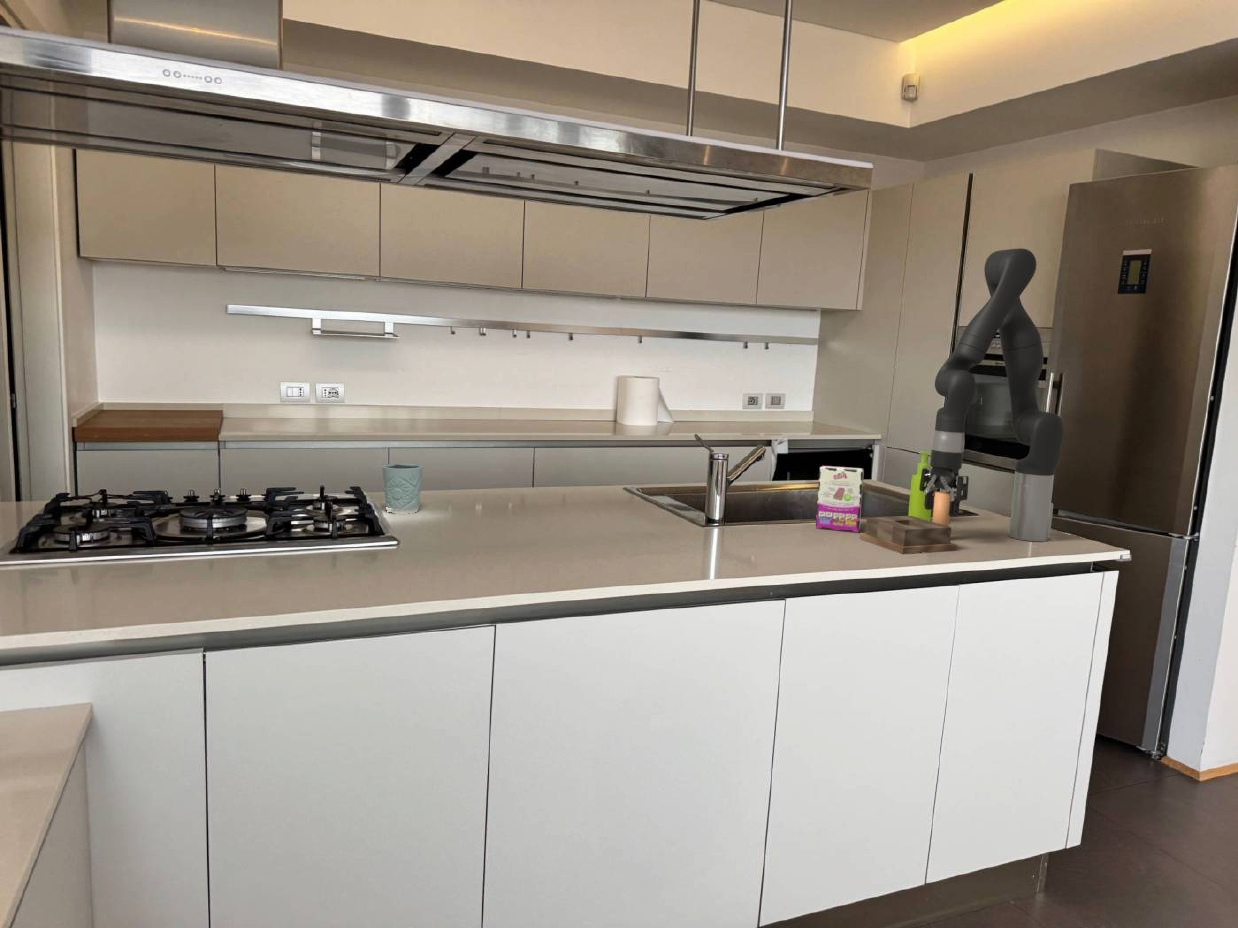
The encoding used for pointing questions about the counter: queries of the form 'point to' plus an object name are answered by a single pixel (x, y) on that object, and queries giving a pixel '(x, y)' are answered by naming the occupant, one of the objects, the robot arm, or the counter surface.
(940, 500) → the wooden pin
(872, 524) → the socket block
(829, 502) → the candy bar box
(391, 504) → the teal embossed pot
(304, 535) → the counter surface
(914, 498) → the soap dispenser
